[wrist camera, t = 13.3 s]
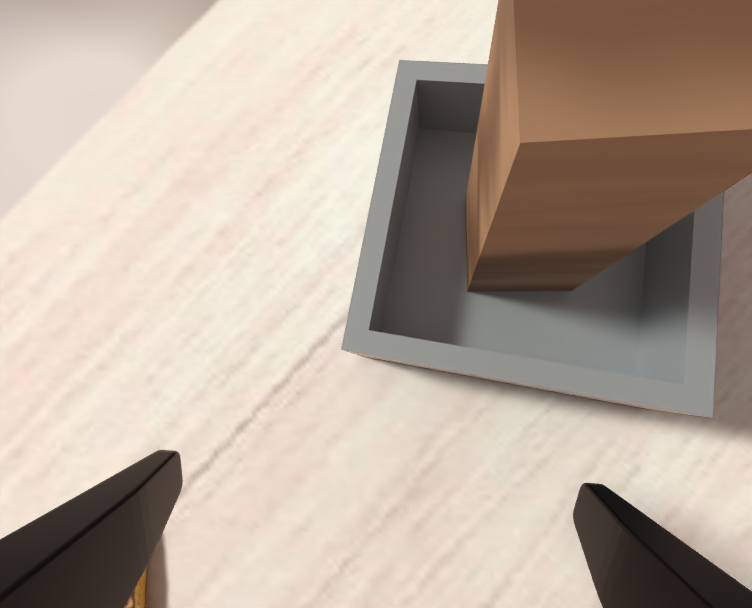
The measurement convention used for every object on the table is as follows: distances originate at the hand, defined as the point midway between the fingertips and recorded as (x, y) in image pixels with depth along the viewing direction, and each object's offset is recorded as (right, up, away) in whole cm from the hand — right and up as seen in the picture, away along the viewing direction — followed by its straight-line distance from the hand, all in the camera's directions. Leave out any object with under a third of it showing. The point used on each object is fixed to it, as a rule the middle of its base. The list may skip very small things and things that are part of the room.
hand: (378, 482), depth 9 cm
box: (+7, +7, +12) cm, 16 cm away
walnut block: (+7, +7, +11) cm, 15 cm away
